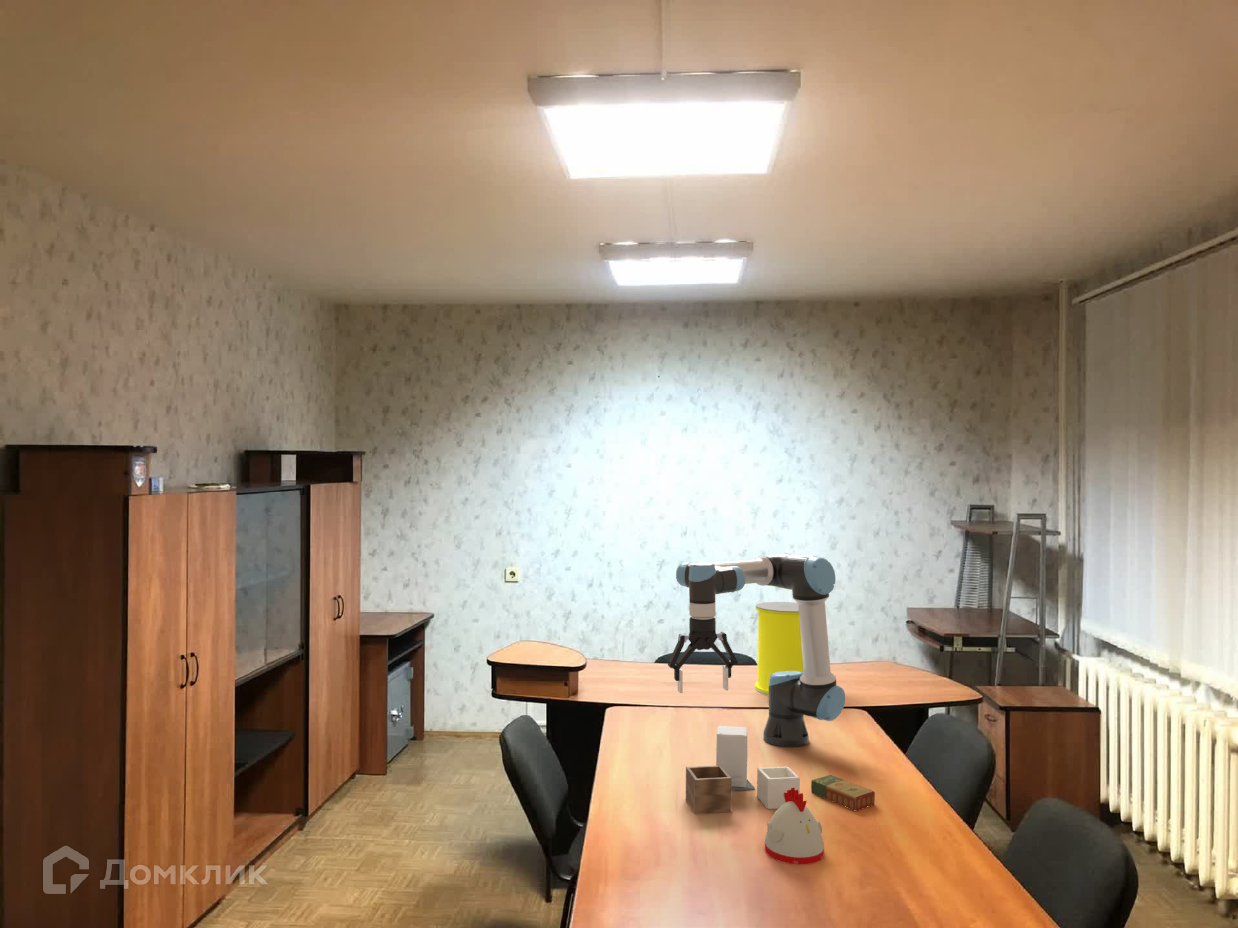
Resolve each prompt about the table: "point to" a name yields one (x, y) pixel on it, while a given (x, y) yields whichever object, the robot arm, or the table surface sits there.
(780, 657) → the container
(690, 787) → the walnut pot
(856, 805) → the carton
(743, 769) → the supplement box
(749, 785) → the coaster
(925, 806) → the table surface
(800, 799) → the kitchen timer
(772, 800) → the ceramic pot
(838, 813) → the table surface
